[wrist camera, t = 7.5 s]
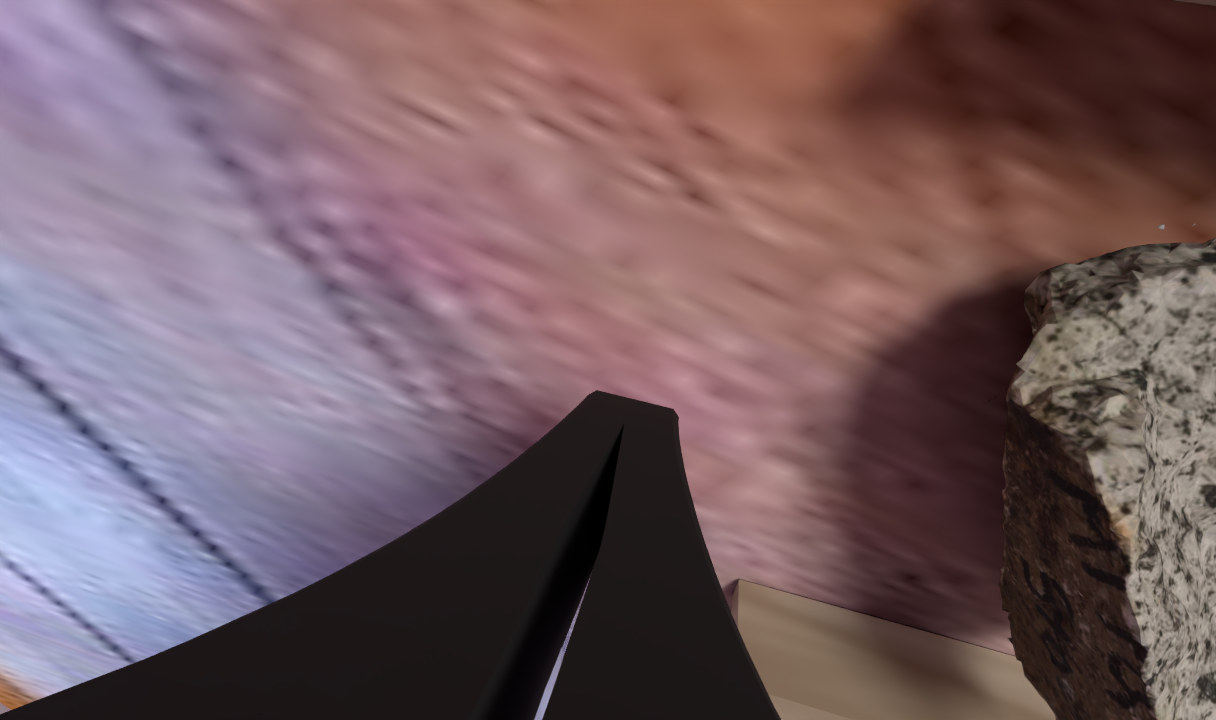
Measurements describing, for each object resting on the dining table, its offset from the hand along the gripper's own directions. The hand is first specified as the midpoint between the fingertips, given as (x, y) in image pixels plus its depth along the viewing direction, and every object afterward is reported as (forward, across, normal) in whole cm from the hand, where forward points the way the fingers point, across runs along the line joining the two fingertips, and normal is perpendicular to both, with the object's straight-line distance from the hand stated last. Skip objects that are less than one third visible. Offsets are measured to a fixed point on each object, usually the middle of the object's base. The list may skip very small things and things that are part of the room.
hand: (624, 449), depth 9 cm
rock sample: (+4, -10, -1) cm, 11 cm away
